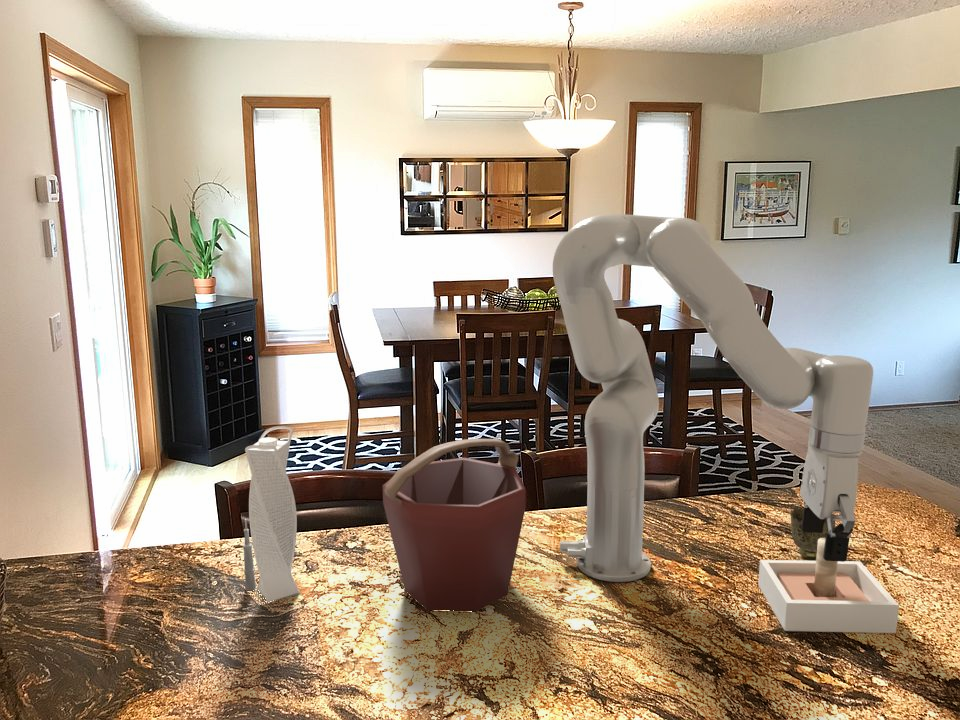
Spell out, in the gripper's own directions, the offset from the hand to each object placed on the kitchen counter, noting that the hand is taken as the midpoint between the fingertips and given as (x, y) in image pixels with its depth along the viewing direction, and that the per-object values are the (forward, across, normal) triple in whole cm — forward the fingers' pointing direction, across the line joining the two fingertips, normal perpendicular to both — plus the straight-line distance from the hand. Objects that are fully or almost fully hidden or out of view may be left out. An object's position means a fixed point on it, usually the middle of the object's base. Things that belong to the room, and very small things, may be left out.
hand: (822, 545), depth 124 cm
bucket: (+12, -4, -56) cm, 57 cm away
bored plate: (+10, 0, +1) cm, 10 cm away
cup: (+11, -18, +5) cm, 21 cm away
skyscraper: (+14, -2, -86) cm, 87 cm away
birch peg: (+9, 0, +1) cm, 9 cm away
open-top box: (+10, 0, +1) cm, 10 cm away
